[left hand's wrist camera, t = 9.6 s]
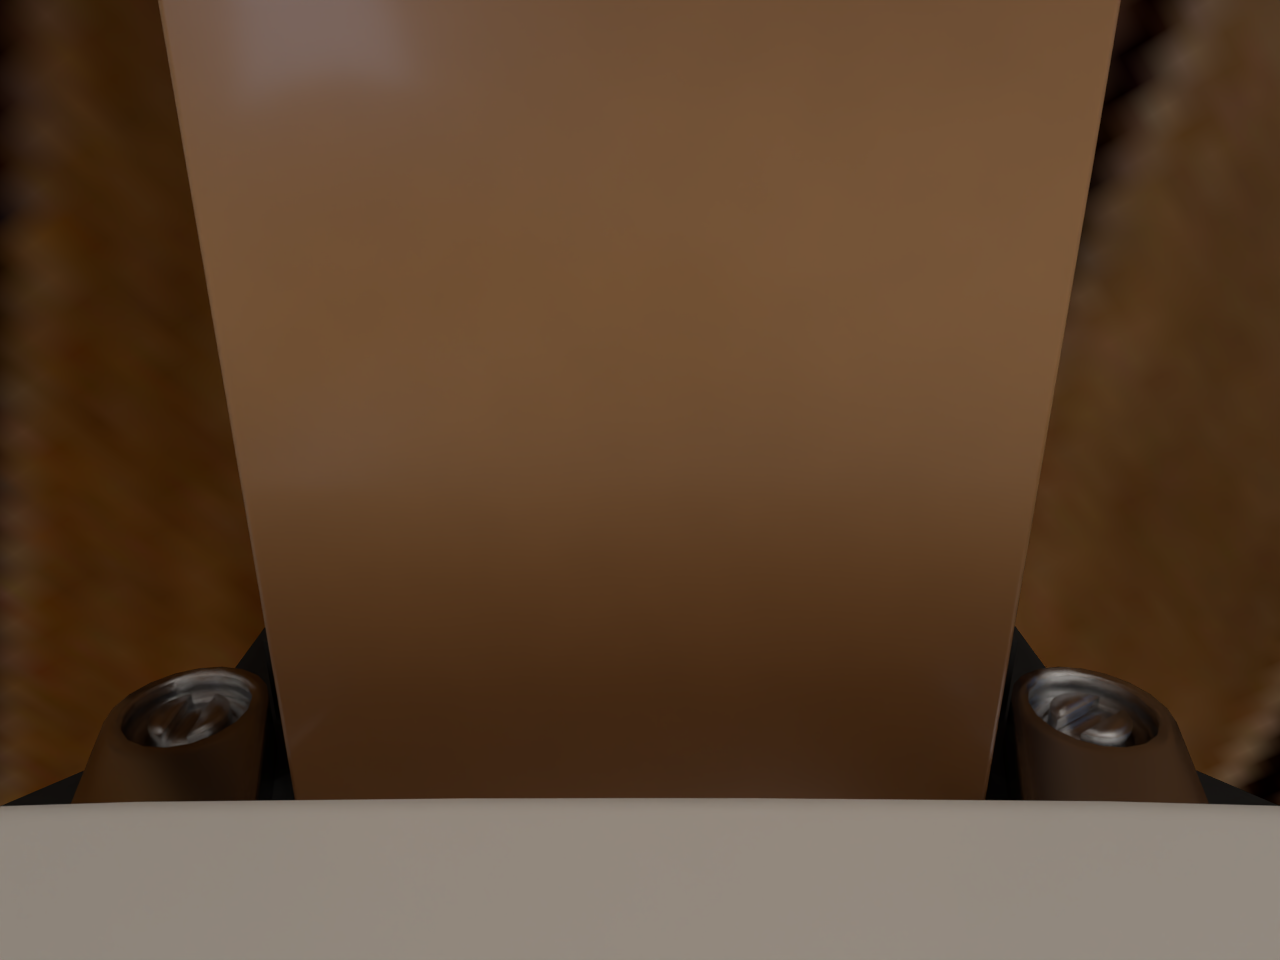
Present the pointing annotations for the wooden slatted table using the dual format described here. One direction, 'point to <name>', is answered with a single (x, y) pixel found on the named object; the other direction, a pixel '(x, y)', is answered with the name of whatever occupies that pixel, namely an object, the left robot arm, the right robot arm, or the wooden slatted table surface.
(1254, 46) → the wooden slatted table surface
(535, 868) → the left robot arm
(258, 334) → the post
